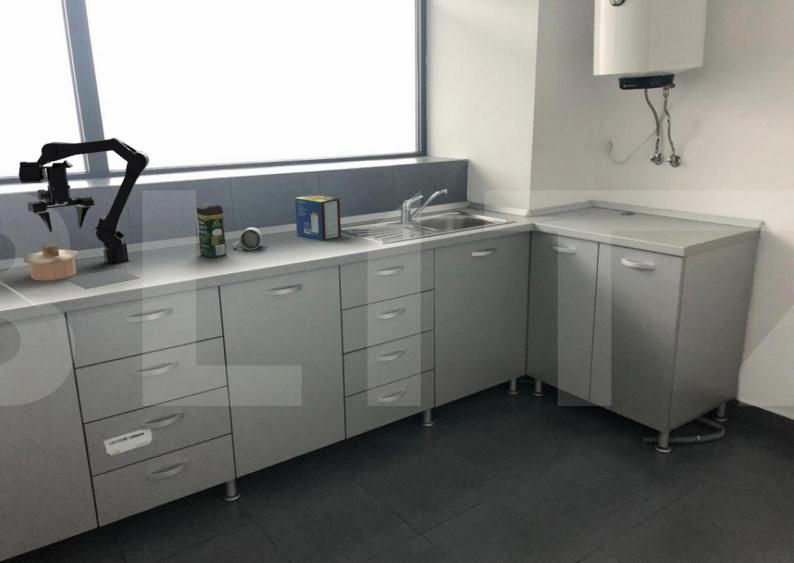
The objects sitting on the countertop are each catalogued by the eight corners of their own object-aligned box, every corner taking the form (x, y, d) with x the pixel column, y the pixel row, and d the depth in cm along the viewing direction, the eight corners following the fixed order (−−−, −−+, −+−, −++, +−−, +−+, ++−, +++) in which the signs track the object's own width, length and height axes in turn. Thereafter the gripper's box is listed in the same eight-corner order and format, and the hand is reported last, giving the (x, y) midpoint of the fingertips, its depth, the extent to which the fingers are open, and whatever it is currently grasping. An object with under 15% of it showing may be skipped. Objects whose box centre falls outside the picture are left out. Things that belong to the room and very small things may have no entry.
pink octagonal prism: (67, 269, 205) (64, 251, 203) (81, 276, 197) (78, 257, 195) (27, 276, 197) (23, 257, 195) (39, 284, 189) (36, 264, 187)
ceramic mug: (263, 244, 239) (261, 224, 237) (261, 249, 231) (260, 229, 229) (234, 246, 238) (232, 226, 236) (232, 251, 230) (230, 230, 228)
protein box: (315, 231, 262) (313, 194, 258) (341, 236, 253) (340, 198, 248) (296, 235, 255) (294, 197, 250) (322, 241, 245) (320, 201, 241)
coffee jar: (196, 254, 224) (192, 202, 219) (217, 251, 229) (213, 200, 224) (209, 259, 217) (204, 205, 212) (230, 255, 222) (225, 203, 217)
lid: (68, 249, 206) (66, 238, 204) (86, 257, 195) (84, 245, 194) (17, 257, 195) (15, 245, 194) (33, 266, 185) (30, 253, 184)
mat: (118, 270, 204) (118, 268, 204) (140, 279, 193) (139, 277, 193) (65, 279, 193) (65, 278, 193) (85, 290, 182) (85, 288, 182)
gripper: (78, 177, 214) (84, 223, 219) (17, 183, 201) (25, 231, 205) (91, 180, 207) (98, 227, 211) (30, 186, 194) (38, 235, 198)
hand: (65, 230), depth 207 cm, fingers open, 9 cm apart
